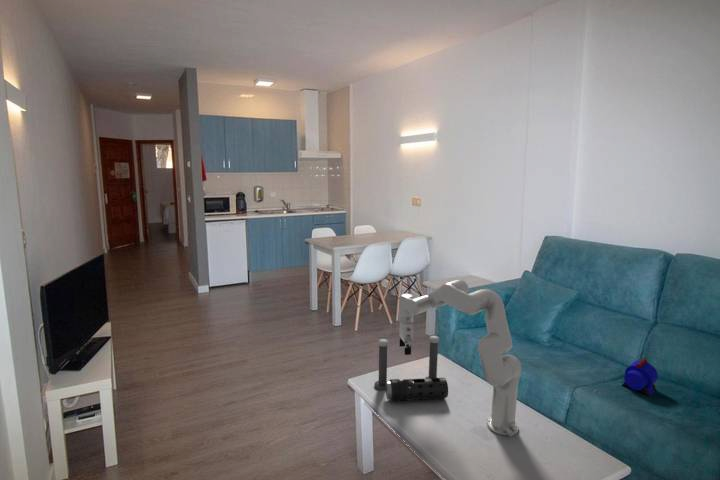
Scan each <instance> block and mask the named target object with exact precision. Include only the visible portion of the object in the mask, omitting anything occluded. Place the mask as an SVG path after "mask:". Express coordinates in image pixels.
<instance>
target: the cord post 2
mask: <svg viewBox="0 0 720 480" xmlns="http://www.w3.org/2000/svg"><path fill="white" fill-rule="evenodd" d="M439 338H440V337H439V336H437V335H430V336H429V356H428V357H429V359H428V360H429V361H428V376H425V378H438V377H437V376H438V354H439V353H438V352H439Z"/></svg>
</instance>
